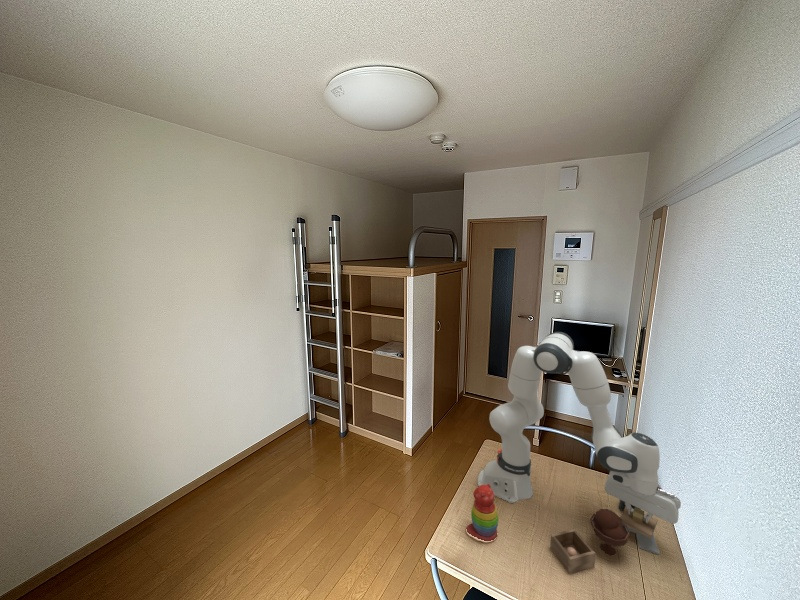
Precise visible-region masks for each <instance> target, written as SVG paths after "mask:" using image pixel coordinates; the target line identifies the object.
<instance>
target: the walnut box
mask: <svg viewBox="0 0 800 600" xmlns="http://www.w3.org/2000/svg"><path fill="white" fill-rule="evenodd" d="M568 547H572V548H574V549H575V550H576V552H577V555H575V556H570V555H569V554H568V552H567V551H566V550H567V548H568ZM549 549H550V550H551V552H552V553H553V554H554V556H555V557H556V558H557V559H558V561H559V562H560V563H561V564H562V566H563V567H564V569H565V571H566V572H567V573H568V574H569V575H572V574H576V573H580V572H583V571H587V570H591V569H594V568H595V565H596V564H595V563H596V552H595V551H594V550H593V549H592V548H591V546H590V545H589V544H588V543H587V542H586V540H584V538H583V537H582V536H581V535H580V534H579V533H578V532H577V531H576V529H575V528H572V529H568V530H564V531H563V530H562V531H560V532H556V533H551V534H550V545H549Z"/></svg>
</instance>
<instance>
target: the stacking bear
mask: <svg viewBox="0 0 800 600" xmlns="http://www.w3.org/2000/svg"><path fill="white" fill-rule="evenodd" d="M472 493H473V494H472V495H473V497H474V498H473V499H474V500H473V503H472V508H471V511H470V512H471V514H470V515H471V522H472V523H471V524H468V525H467V526H466V527H465V530H466V529H467V532H468V533H469V534H471V535H472V536H474V537H477V538H478V539H481V540H484V541H491V540H494V539H495V538H496V537H497V538H498V535H497V533H498V530H497V529H498V525H499V513H498V508H497V505H496V504H495V502H494V501H495V496H494V492H493V490H492V489H491V486H490V484H487V485H480V486H479V487H476V488H474V489H473V492H472ZM497 538H496V539H497Z"/></svg>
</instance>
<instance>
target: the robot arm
mask: <svg viewBox="0 0 800 600" xmlns="http://www.w3.org/2000/svg"><path fill="white" fill-rule="evenodd" d="M542 372H544V373H547V374H558V375H566V374H568V376H569V379H570V382H571V386H572V388H573V389H572V390H573V391H574V393H575V397H576V398H577V399H578V401H579V404H580V405H582V406H584V407H586V409H587V411H588V413H589V414H588V415H589V416H590V421H591V423H592V430H591V433H590V434H591V436H590V437H591V442H592V444H593V448H594V452H595V455H596V458H597V461H598V463H599V464H600V465H601V466H602V467H603V468H604V469H606V470H607V471H609V474H608V477H607V479H606V481H605V485H604V491H605V493H606V494H607V495H610V496H612V497H614V498H616V499H618V500H619V499H620V500H622V501H624V502H625V505H626V507H627V509H628V514H630V515H632V516H633V511H634V509H633V508H632V507H631V505H633V506H635V507H637V508H640V509H641V510H643V511H644V512H645V513H644V515H643V520H642V521H644V522H646V523H648V521H649V519H650V518H651V517H652V518H653V516H655V517H656V518H658V519H662V520H664V521H665V522H668V523H670V524H672V525H674V524H677V523H678V521H679V510H680V509H681V504H682V502H681V500H680V498H678V497H677V496H676V495H675V494H674V493H672V492H668V491H667V490H664V489H662V488H660V487H659V486H658V484H659V475H658V470H659V468H660V457H661V456H660V448H659V447H660V446H658V444H657V442H656V441H655V440H654V439H652V438H651V437H650V436H649V435H646V434H643V433H641V432H632V433H630V434H628V435H627V436H622V434H621V432H620V431H619V430H618V429H617V428H616V426H614V424H613V422H612V420H611V417H610V414H609V411H608V406H607V405H608V404H610V403H611V400H612V396H611V388H610V384H609V381H608V378H607V375H606V372H605V370H604V367H603V366H602V364H601V361H600V360H599V359H598V357H597V355H596V354H594V353H593V352H592V351H591V352H590V351H584V350H583V351H582V350H581V351H576V350H575V345H574V340H573V339H572V338H571V336H570V335H568V334H567V333H566V332H562V331H555V332H551V333H549V334H547V335H546V336H545V337H544V338H543V339H542V340H541V341H540V342H539V343H538V346H537V345H536V346H531V345H522V346H519V348H517V350H516V352H515V355H514V357H513V360H512V364H511V366H510V372H509V378H508V383H507V388H508V390H509V392H510V393H511V394H512V395H513V397H512V400H510V401H508V402H506V403H503V404H500V405H498V406H497V407H495V408H494V409H493V410H492V411H490V413H489V416H488V417H489V424H490V426H491V428H492V429H493V431H494V432H496V433H497V434H499V436H500V438H501V448H498V450H497V454H496V459H494V460H490V461H489V462H487V464H486V465H485V468H483V469H482V470H481V471H480V473H479V474H478V477H477V486H480V485H487V484H490V486H491V489H492V490H493V492H494V495H496V496H498V497H497V498H499V497H500V498H499V499H501V498H502V499H501V500H503V499H504V500H503V501H505V500H506V501H505V502H507V501H508V502H507V503H509V502H510V504H511V503H513V504H512V505H514V504H515V502H518V501H520V500H521V501H523V500H530V499H531V498H532V497H533V494H534V490H533V486H532V481H531V473H532V460H531V442H530V440H529V439H528V438H527V436H525V435H524V434H523V431H524V429H525V428H528V427H530V426H532V425H535V424H536V423H537V422H538V421H540V420H541V419H542V418H543V417H544V415H545V413H544V412H545V410H544V409H545V408H544V406H543V404H542V402H541V401H540V400H539V399H538V392H539V391H538V390H539V385H540V380H541V376H542ZM479 482H481V483H479ZM496 496H495V497H496ZM630 504H631V505H630ZM646 513H647V514H646ZM645 514H646V515H645Z"/></svg>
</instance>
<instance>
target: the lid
mask: <svg viewBox="0 0 800 600" xmlns="http://www.w3.org/2000/svg"><path fill="white" fill-rule="evenodd" d="M644 514H645V515H647V514H646V513H645V511H644V510H642V509H641V510H640V509H638V508H636V507H635V508H634V511H633V516H632V515H630V514H628V509H627V507H625V509H624V511H623V512H622V513H621V515H620V516H619V517H620V518H621V520H622V522H623V523H624V524H625V525H626V526H627V527H629V528H631V529H633V530H635V531H637V532H639V533H641V534H643V535H645V536H647V537H649V538H652V535H653V534H654V532H655V529H656V526H657V524H658V519H656V518H655V517H653V516H652V517H651V518H650V519H649V521H648V523H646V522H644V521H642V520H643V515H644Z"/></svg>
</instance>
